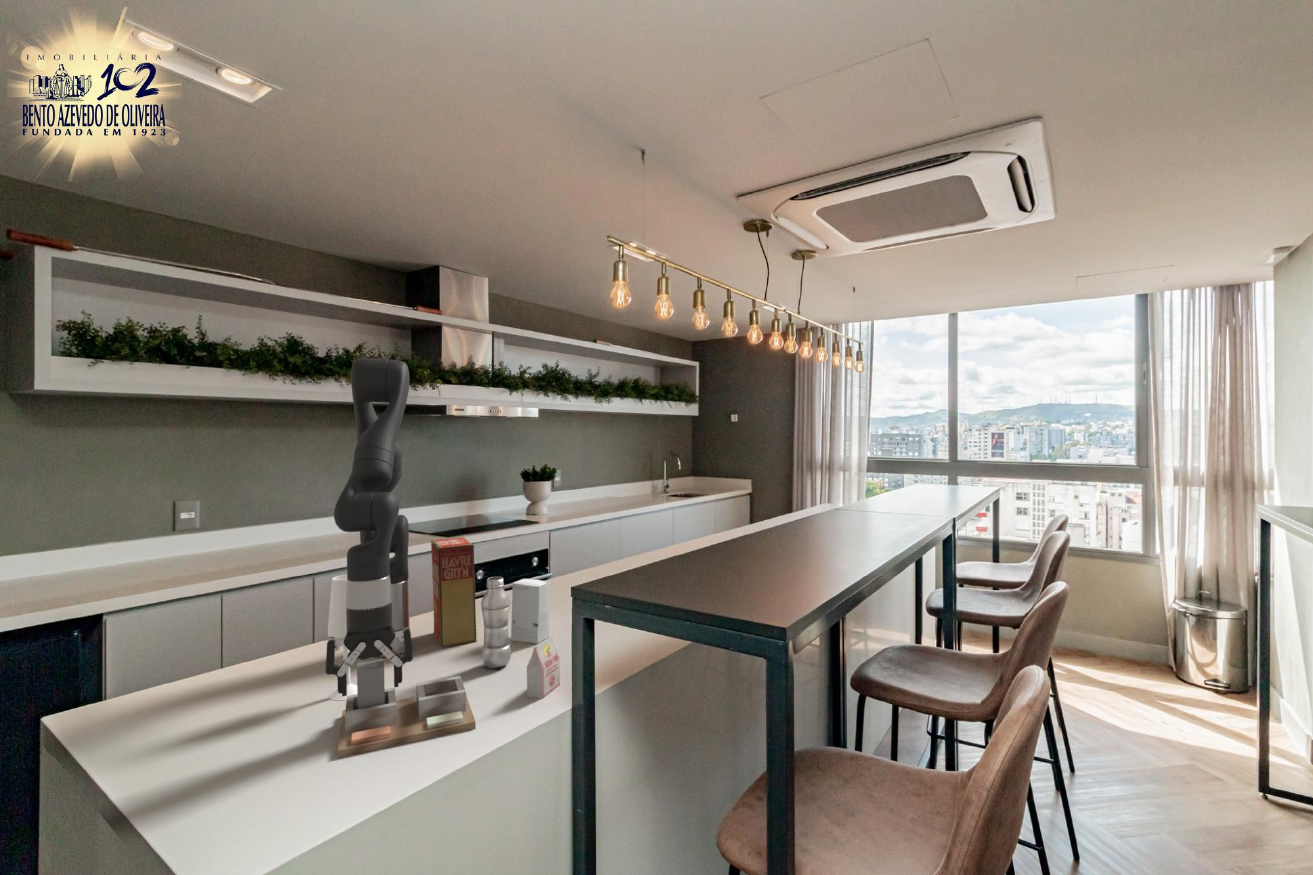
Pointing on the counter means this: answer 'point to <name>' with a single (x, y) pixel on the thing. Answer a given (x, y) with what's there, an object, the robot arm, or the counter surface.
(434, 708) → the socket board
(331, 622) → the champagne flute
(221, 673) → the counter surface
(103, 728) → the counter surface
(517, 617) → the skincare box
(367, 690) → the plug
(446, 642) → the food packaging
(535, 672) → the small milk carton
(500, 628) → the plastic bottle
